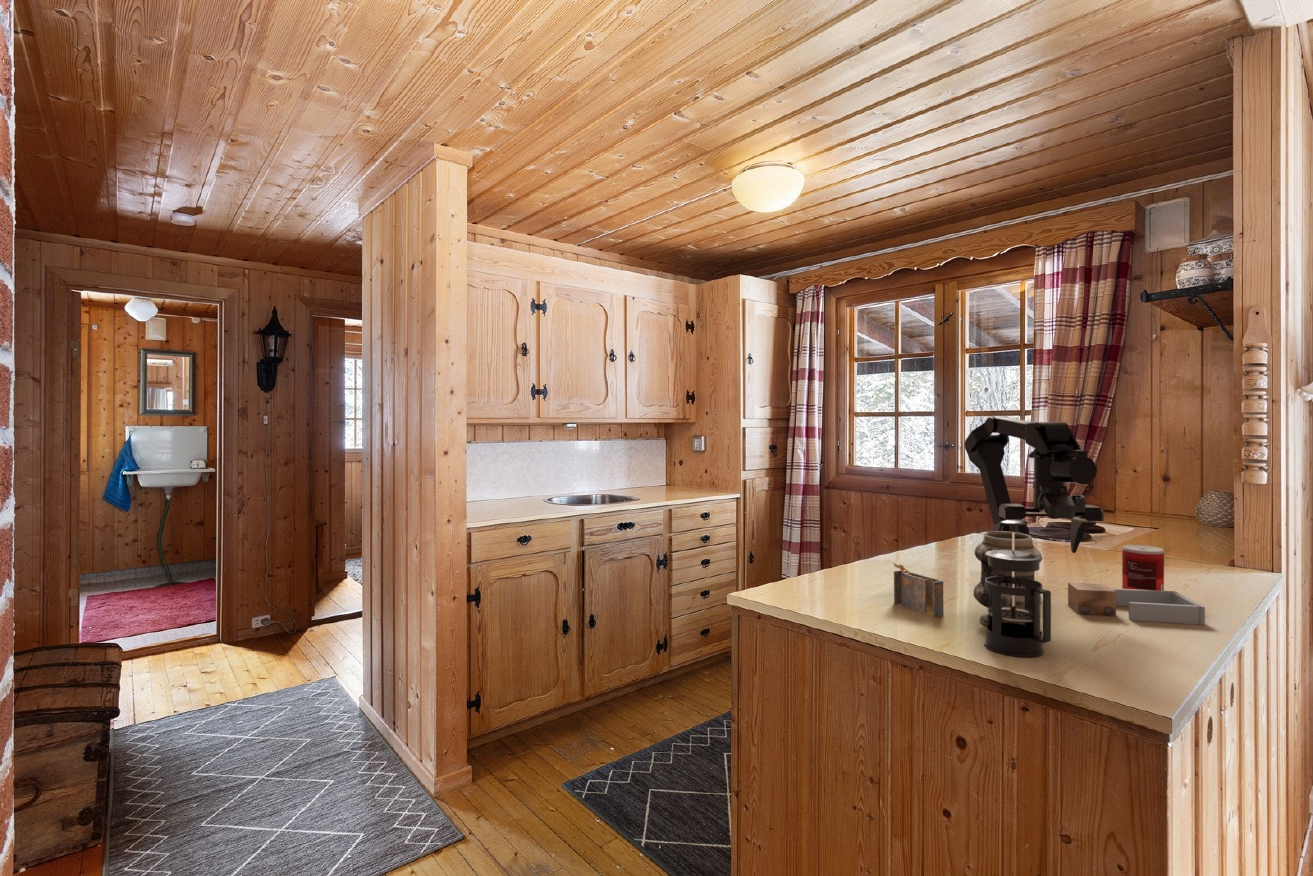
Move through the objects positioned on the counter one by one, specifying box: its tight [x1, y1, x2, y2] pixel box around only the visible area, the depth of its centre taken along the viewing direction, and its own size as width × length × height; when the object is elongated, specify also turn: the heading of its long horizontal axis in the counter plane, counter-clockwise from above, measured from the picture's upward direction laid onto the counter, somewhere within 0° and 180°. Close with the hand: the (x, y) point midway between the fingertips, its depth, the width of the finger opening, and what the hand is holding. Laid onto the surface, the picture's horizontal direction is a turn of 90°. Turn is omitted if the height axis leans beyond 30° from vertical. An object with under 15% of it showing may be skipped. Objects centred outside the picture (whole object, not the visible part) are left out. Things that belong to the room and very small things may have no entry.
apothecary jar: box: [973, 530, 1043, 626], centre depth 130 cm, size 12×12×18 cm
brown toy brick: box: [1067, 582, 1117, 617], centre depth 138 cm, size 7×7×5 cm
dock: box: [1111, 587, 1206, 626], centre depth 135 cm, size 12×12×4 cm
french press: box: [983, 520, 1052, 659], centre depth 116 cm, size 12×9×23 cm
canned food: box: [1121, 544, 1165, 591], centre depth 148 cm, size 8×8×11 cm
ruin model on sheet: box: [892, 562, 944, 618], centre depth 141 cm, size 11×3×10 cm, turn 24°
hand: (1049, 552), depth 140 cm, fingers open, 9 cm apart
